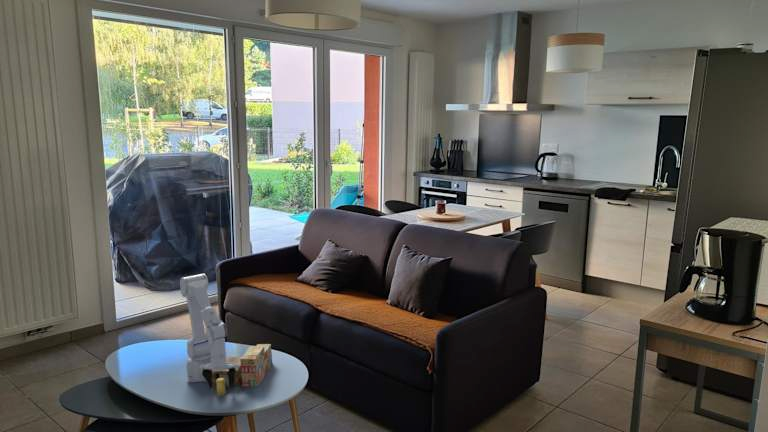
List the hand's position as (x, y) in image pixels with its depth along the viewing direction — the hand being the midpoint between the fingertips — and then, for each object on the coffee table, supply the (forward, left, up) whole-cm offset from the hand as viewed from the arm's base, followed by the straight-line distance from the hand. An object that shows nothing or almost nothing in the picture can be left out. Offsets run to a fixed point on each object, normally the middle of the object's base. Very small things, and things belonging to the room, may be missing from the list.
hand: (221, 386), depth 209 cm
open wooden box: (0, +12, -3) cm, 12 cm away
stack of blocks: (+11, +16, -3) cm, 20 cm away
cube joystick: (0, +5, -3) cm, 6 cm away
